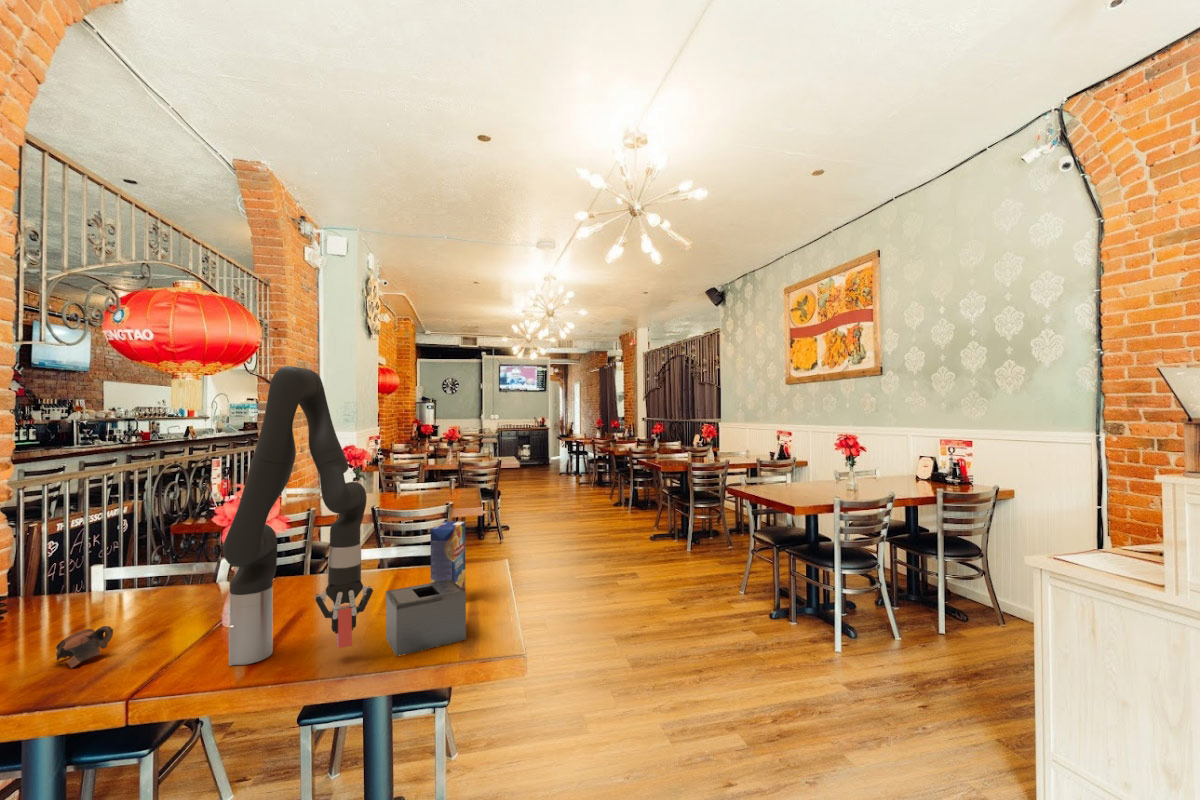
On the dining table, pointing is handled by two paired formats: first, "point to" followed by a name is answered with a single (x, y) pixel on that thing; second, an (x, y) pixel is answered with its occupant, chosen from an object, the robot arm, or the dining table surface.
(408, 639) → the grey slotted box
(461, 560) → the blue tall cardboard box
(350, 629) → the red rectangular block
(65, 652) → the brown curved piece
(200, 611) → the dining table surface
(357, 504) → the robot arm
